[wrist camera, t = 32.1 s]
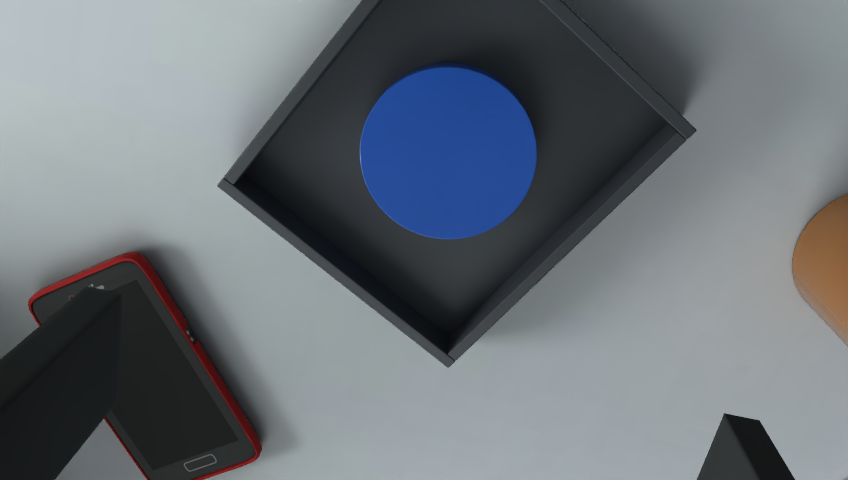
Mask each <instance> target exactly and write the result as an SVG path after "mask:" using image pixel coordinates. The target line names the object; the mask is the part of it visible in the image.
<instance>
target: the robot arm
mask: <svg viewBox="0 0 848 480" xmlns="http://www.w3.org/2000/svg"><path fill="white" fill-rule="evenodd" d="M121 305H122V293H118V292H113V291H108V290H103V289H98V288H93V287H88V286H86V287H85V288H84V289H83V290H81V291H80V292H79V293H78V294H77V295H76V296H74V297H73V298H72V299H71V300H70V301H69V302H67V303H66V304H65V305H64V306H63V307H62V308H60V309H59V310H58V311H57V312H56V313H55V314H53V315H52V316H51V317H50V318H49V319H48V320H46V321H45V322H44V323H43V324H42V325H40V326H39V327H38V328H37V329H36V330H35V331H33V332H32V333H31V334H30V335H29V336H28V337H26V338H25V339H24V340H23V341H22V342H21V343H19V344H18V345H17V346H16V347H15V348H14V349H12V350H11V351H10V352H9V353H8V354H7V355H5V356H4V357H3V358H2V359H1V360H0V480H55V479H56V477H57V476H58V475H59V474H60V472H61V471H62V470H63V469H64V467H65V466H66V465H67V464H68V462H69V461H70V460H71V459H72V457H73V456H74V455H75V454H76V452H77V451H78V450H79V449H80V447H81V446H82V445H83V444H84V442H85V441H86V440H87V439H88V437H89V436H90V435H91V434H92V432H93V431H94V430H95V429H96V427H97V426H98V425H99V424H100V423H101V421H102V420H103V419H104V418H105V416H106V415H107V414H108V413H109V411H110V410H111V409H112V408H113V406H114V405H115V404H116V403H117V401H118V399H119V368H120V336H121ZM697 480H795V479H794V477H793V476H792V474H791V472H790V471H789V469H788V467H787V466H786V464H785V462H784V461H783V459H782V457H781V456H780V454H779V452H778V451H777V449H776V447H775V446H774V444H773V442H772V441H771V439H770V437H769V436H768V434H767V432H766V431H765V429H764V427H763V426H762V424H761V422H760V421H759V420H754V419H749V418H744V417H739V416H734V415H729V414H724V416H723V418H722V420H721V423H720V425H719V428H718V430H717V432H716V435H715V437H714V440H713V442H712V444H711V447H710V449H709V452H708V454H707V457H706V459H705V461H704V464H703V466H702V469H701V471H700V473H699V476H698V478H697Z"/></svg>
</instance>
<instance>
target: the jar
mask: <svg viewBox="0 0 848 480" xmlns="http://www.w3.org/2000/svg"><path fill="white" fill-rule="evenodd" d="M792 273H793V279H794V283H795V286H796V288H797V290H798V292H799V294H800V295H801V297H802V298H803V300H804V301H805V302H806V303H807V304H808V305H809V306H810V307H811V308H812V309H813V310H814V312H815V313H816V314H817V315H818V316H819V317H820V318H821V319H822V320H823V321H824V322H825V323H826V324H827V325H828V326H829V327H830V329H831V330H832V331H833V332H834V333H835V334H836V335H837V336H838V337H839V338H840V339H841V340H842V341H843V342H844V343H845V345H846V346H847V347H848V194H846V195H844V196H842V197H840V198H838V199H836V200H834V201H833V202H831V203H829V204H828V205H827V206H826V207H824V208H823V209H822V210H820V211H819V212H818V213H817V214H816V215H815V216H814V217H813V218H812V219H811V221H810V222H809V223H808V224H807V225H806V227H805V229H804V230H803V232H802V233H801V235H800V237H799V239H798V241H797V244H796V247H795V250H794V254H793V259H792Z"/></svg>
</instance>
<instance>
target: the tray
mask: <svg viewBox="0 0 848 480" xmlns="http://www.w3.org/2000/svg"><path fill="white" fill-rule="evenodd" d="M440 62H458V63H466V64H470V65H473V66H477V67H480V68H482V69H484V70H487V71H489V72H491V73H492V74H494V75H496V76H497V77H499V78H500V79H501V80H503V81H504V82H505V83H506V84H508V85H509V86H510V87H511V88H512V90H513V91H514V92H515V93H516V94H517V95H518V97H519V98H520V100H521V101H522V102H523V104H524V106H525V108H526V110H527V112H528V114H529V117H530V120H531V123H532V126H533V129H534V133H535V137H536V144H537V164H536V169H535V175H534V178H533V181H532V184H531V186H530V188H529V190H528V192H527V194H526V196H525V198H524V199H523V201H522V202H521V204H520V205H519V206H518V207H517V209H516V210H515V211H514V212H513V213H512V214H511V215H510V216H509V217H508V218H507V219H505V220H504V221H503V222H501V223H500V224H498V225H497V226H496V227H494V228H492V229H490V230H488V231H486V232H483V233H481V234H478V235H475V236H471V237H467V238H461V239H437V238H430V237H427V236H423V235H419V234H417V233H415V232H412V231H410V230H408V229H406V228H404V227H402V226H401V225H399V224H398V223H396V222H395V221H394V220H392V219H391V218H390V217H389V216H388V215H387V214H386V213H385V212H383V210H382V209H381V208H380V207H379V206H378V204H377V203H376V202H375V200H374V199H373V197H372V195H371V194H370V192H369V190H368V188H367V186H366V183H365V180H364V177H363V174H362V169H361V164H360V141H361V136H362V131H363V127H364V125H365V122H366V120H367V117H368V115H369V113H370V112H371V110H372V108H373V106H374V105H375V103H376V102H377V100H378V99H379V98H380V96H381V95H382V94H383V92H384V91H385V90H386V89H387V88H388V87H389V86H390V85H391V84H392V83H393V82H395V81H396V80H397V79H398V78H400V77H401V76H403V75H404V74H406V73H408V72H410V71H412V70H414V69H416V68H419V67H421V66H425V65H429V64H432V63H440ZM695 132H696V129H695V128H694V127H693V126H692V125H691V124H690V123H689V122H688V121H687V120H686V119H685V118H684V117H683V116H682V115H681V114H679V113H678V112H677V111H676V110H675V109H674V108H673V107H672V106H671V105H670V104H669V103H668V102H667V101H666V100H665V99H664V98H663V97H662V96H661V95H660V94H659V93H657V92H656V91H655V90H654V89H653V88H652V87H651V86H650V85H649V84H648V83H647V82H646V81H645V80H644V79H643V78H642V77H641V76H640V75H639V74H638V73H637V72H636V71H634V70H633V69H632V68H631V67H630V66H629V65H628V64H627V63H626V62H625V61H624V60H623V59H622V58H621V57H620V56H619V55H618V54H617V53H616V52H615V51H614V50H612V49H611V48H610V47H609V46H608V45H607V44H606V43H605V42H604V41H603V40H602V39H601V38H600V37H599V36H598V35H597V34H596V33H595V32H594V31H593V30H592V29H590V28H589V27H588V26H587V25H586V24H585V23H584V22H583V21H582V20H581V19H580V18H579V17H578V16H577V15H576V14H575V13H574V12H573V11H572V10H571V9H570V8H569V7H567V6H566V5H565V4H564V3H563V2H562V1H561V0H362V1H361V2H360V4H359V5H358V6H357V8H356V9H355V10H354V11H353V13H352V14H351V15H350V17H349V18H348V19H347V20H346V22H345V23H344V24H343V25H342V27H341V28H340V29H339V31H338V32H337V33H336V34H335V36H334V37H333V38H332V40H331V41H330V42H329V43H328V45H327V46H326V47H325V48H324V50H323V51H322V52H321V54H320V55H319V56H318V57H317V59H316V60H315V61H314V63H313V64H312V65H311V66H310V68H309V69H308V70H307V71H306V73H305V74H304V75H303V77H302V78H301V79H300V80H299V82H298V83H297V84H296V86H295V87H294V88H293V89H292V91H291V92H290V93H289V94H288V96H287V97H286V98H285V100H284V101H283V102H282V103H281V105H280V106H279V107H278V109H277V110H276V111H275V112H274V114H273V115H272V116H271V117H270V119H269V120H268V121H267V123H266V124H265V125H264V126H263V128H262V129H261V130H260V132H259V133H258V134H257V135H256V137H255V138H254V139H253V140H252V142H251V143H250V144H249V146H248V147H247V148H246V149H245V151H244V152H243V153H242V155H241V156H240V157H239V158H238V160H237V161H236V162H235V163H234V165H233V166H232V167H231V169H230V170H229V171H228V172H227V174H226V175H225V177H224V178H223V179H222V180H221V181H220V183H219V184H218V187H219V188H220V189H222V190H223V191H224V192H225V193H227V194H228V195H229V196H230V197H232V198H233V199H234V200H236V201H237V202H238V203H239V204H241V205H242V206H243V207H244V208H246V209H247V210H248V211H250V212H251V213H252V214H253V215H255V216H256V217H257V218H258V219H260V220H261V221H262V222H263V223H265V224H266V225H267V226H269V227H270V228H271V229H272V230H274V231H275V232H276V233H277V234H279V235H280V236H281V237H283V238H284V239H285V240H286V241H288V242H289V243H290V244H291V245H293V246H294V247H295V248H297V249H298V250H299V251H300V252H302V253H303V254H304V255H305V256H307V257H308V258H309V259H311V260H312V261H313V262H314V263H316V264H317V265H318V266H319V267H321V268H322V269H323V270H324V271H326V272H327V273H328V274H330V275H331V276H332V277H333V278H335V279H336V280H337V281H338V282H340V283H341V284H342V285H344V286H345V287H346V288H347V289H349V290H350V291H351V292H352V293H354V294H355V295H356V296H358V297H359V298H360V299H361V300H363V301H364V302H365V303H366V304H368V305H369V306H370V307H372V308H373V309H374V310H375V311H377V312H378V313H379V314H380V315H382V316H383V317H384V318H385V319H387V320H388V321H389V322H391V323H392V324H393V325H394V326H396V327H397V328H398V329H399V330H401V331H402V332H403V333H405V334H406V335H407V336H408V337H410V338H411V339H412V340H413V341H415V342H416V343H417V344H419V345H420V346H421V347H422V348H424V349H425V350H426V351H427V352H429V353H430V354H431V355H433V356H434V357H435V358H436V359H438V360H439V361H440V362H441V363H443V364H444V365H445V366H446V367H450V366H451V365H452V364H453V363H454V362H455V360H457V359H458V358H459V357H460V356H461V355H462V354H463V353H464V352H465V351H466V350H467V349H468V348H470V347H471V346H472V345H473V344H474V343H475V342H476V341H477V340H478V339H479V338H480V337H481V336H482V335H483V334H484V333H485V332H486V331H487V330H488V329H489V328H490V327H491V326H493V325H494V324H495V323H496V322H497V321H498V320H499V319H500V318H501V317H502V316H503V315H504V314H505V313H506V312H507V311H508V310H509V309H510V308H511V307H512V306H513V305H515V304H516V303H517V302H518V301H519V300H520V299H521V298H522V297H523V296H524V295H525V294H526V293H527V292H528V291H529V290H530V289H531V288H532V287H533V286H534V285H535V284H536V283H538V282H539V281H540V280H541V279H542V278H543V277H544V276H545V275H546V274H547V273H548V272H549V271H550V270H551V269H552V268H553V267H554V266H555V265H556V264H557V263H558V262H559V261H561V260H562V259H563V258H564V257H565V256H566V255H567V254H568V253H569V252H570V251H571V250H572V249H573V248H574V247H575V246H576V245H577V244H578V243H579V242H580V241H581V240H582V239H584V238H585V237H586V236H587V235H588V234H589V233H590V232H591V231H592V230H593V229H594V228H595V227H596V226H597V225H598V224H599V223H600V222H601V221H602V220H603V219H604V218H605V217H607V216H608V215H609V214H610V213H611V212H612V211H613V210H614V209H615V208H616V207H617V206H618V205H619V204H620V203H621V202H622V201H623V200H624V199H625V198H626V197H627V196H628V195H630V194H631V193H632V192H633V191H634V190H635V189H636V188H637V187H638V186H639V185H640V184H641V183H642V182H643V181H644V180H645V179H646V178H647V177H648V176H649V175H650V174H652V173H653V172H654V171H655V170H656V169H657V168H658V167H659V166H660V165H661V164H662V163H663V162H664V161H665V160H666V159H667V158H668V157H669V156H670V155H671V154H672V153H673V152H675V151H676V150H677V149H678V148H679V147H680V146H681V145H682V144H683V143H684V142H685V141H686V139H688V138H689V137H690V136H691V135H692V134H694V133H695Z"/></svg>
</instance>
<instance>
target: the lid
mask: <svg viewBox="0 0 848 480" xmlns="http://www.w3.org/2000/svg"><path fill="white" fill-rule="evenodd" d="M360 164H361V169H362V174H363V177H364V180H365V183H366V186H367V188H368V190H369V192H370V194H371V195H372V197H373V199H374V200H375V202H376V203H377V204H378V206H379V207H380V208H381V209H382V210H383V212H385V213H386V214H387V215H388V216H389V217H390V218H391V219H392V220H394V221H395V222H396V223H398V224H399V225H401V226H402V227H404V228H406V229H408V230H410V231H412V232H415V233H417V234H419V235H423V236H427V237H430V238H437V239H461V238H467V237H471V236H475V235H478V234H481V233H483V232H486V231H488V230H490V229H492V228H494V227H496V226H497V225H498V224H500V223H501V222H503V221H504V220H505V219H507V218H508V217H509V216H510V215H511V214H512V213H513V212H514V211H515V210H516V209H517V207H518V206H519V205H520V204H521V202H522V201H523V199H524V198H525V196H526V194H527V192H528V190H529V188H530V186H531V184H532V181H533V178H534V175H535V169H536V164H537V144H536V137H535V133H534V129H533V126H532V123H531V120H530V117H529V114H528V112H527V110H526V108H525V106H524V104H523V102H522V101H521V100H520V98H519V97H518V95H517V94H516V93H515V92H514V91H513V90H512V88H511V87H510V86H509V85H508V84H506V83H505V82H504V81H503V80H501V79H500V78H499V77H497V76H496V75H494V74H492V73H491V72H489V71H487V70H484V69H482V68H480V67H477V66H473V65H470V64H466V63H458V62H440V63H432V64H429V65H425V66H421V67H419V68H416V69H414V70H412V71H410V72H408V73H406V74H404V75H403V76H401V77H400V78H398V79H397V80H396V81H395V82H393V83H392V84H391V85H390V86H389V87H388V88H387V89H386V90H385V91H384V92H383V94H382V95H381V96H380V98H379V99H378V100H377V102H376V103H375V105H374V106H373V108H372V110H371V112H370V113H369V115H368V117H367V120H366V122H365V125H364V127H363V131H362V136H361V141H360Z"/></svg>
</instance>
